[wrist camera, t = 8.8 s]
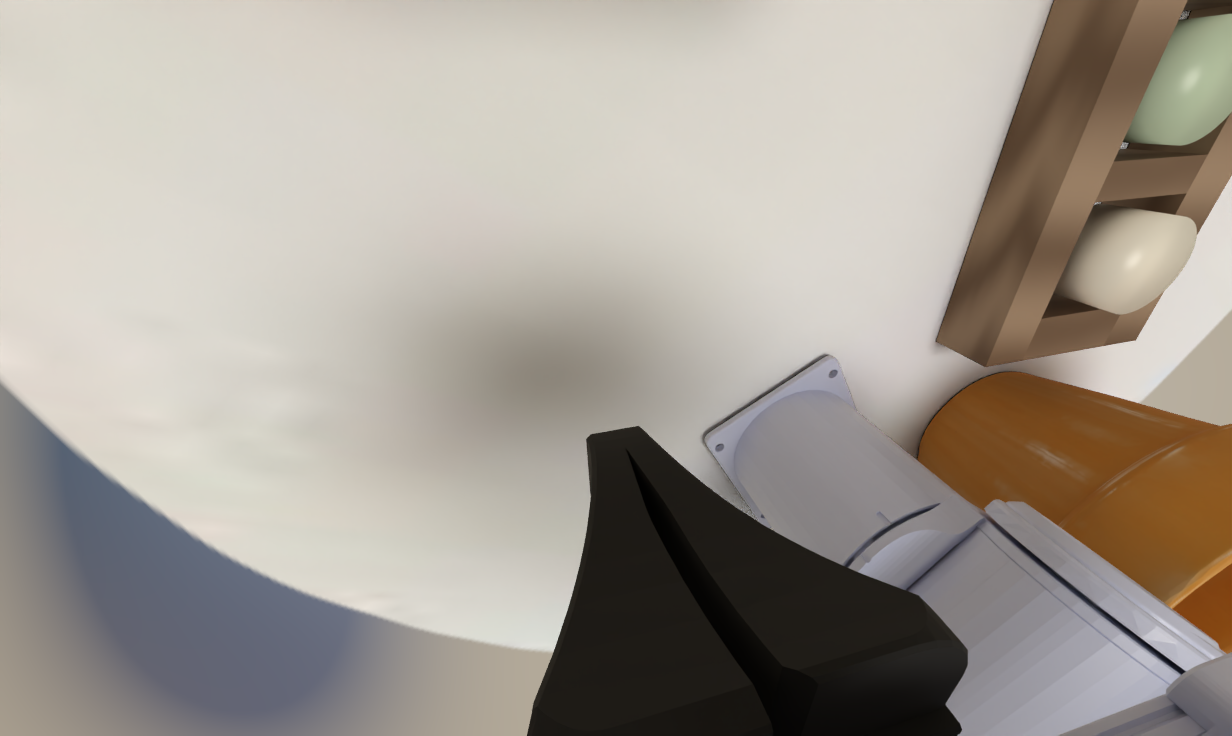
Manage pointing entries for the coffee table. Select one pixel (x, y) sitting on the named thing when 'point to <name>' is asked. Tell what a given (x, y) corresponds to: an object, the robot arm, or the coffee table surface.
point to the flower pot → (1102, 481)
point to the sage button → (1188, 85)
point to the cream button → (1126, 257)
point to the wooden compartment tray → (1077, 181)
